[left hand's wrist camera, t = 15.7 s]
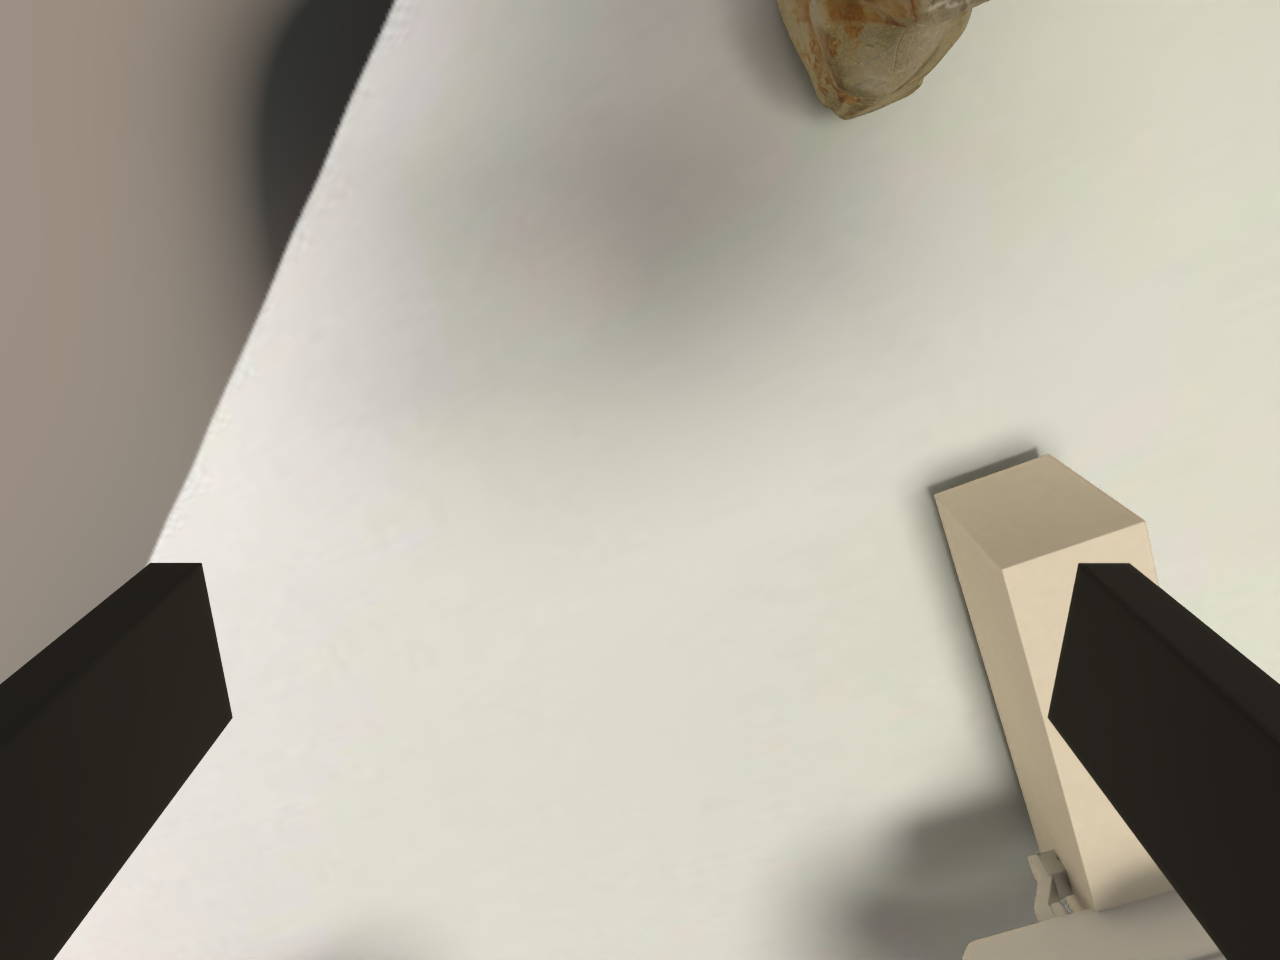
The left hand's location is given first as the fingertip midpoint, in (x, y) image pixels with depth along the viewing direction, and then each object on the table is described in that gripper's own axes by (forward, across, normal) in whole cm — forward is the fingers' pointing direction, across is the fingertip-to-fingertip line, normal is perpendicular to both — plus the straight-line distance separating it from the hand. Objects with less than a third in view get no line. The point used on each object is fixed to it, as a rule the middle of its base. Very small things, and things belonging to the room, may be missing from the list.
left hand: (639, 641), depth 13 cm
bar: (+28, +22, -19) cm, 41 cm away
